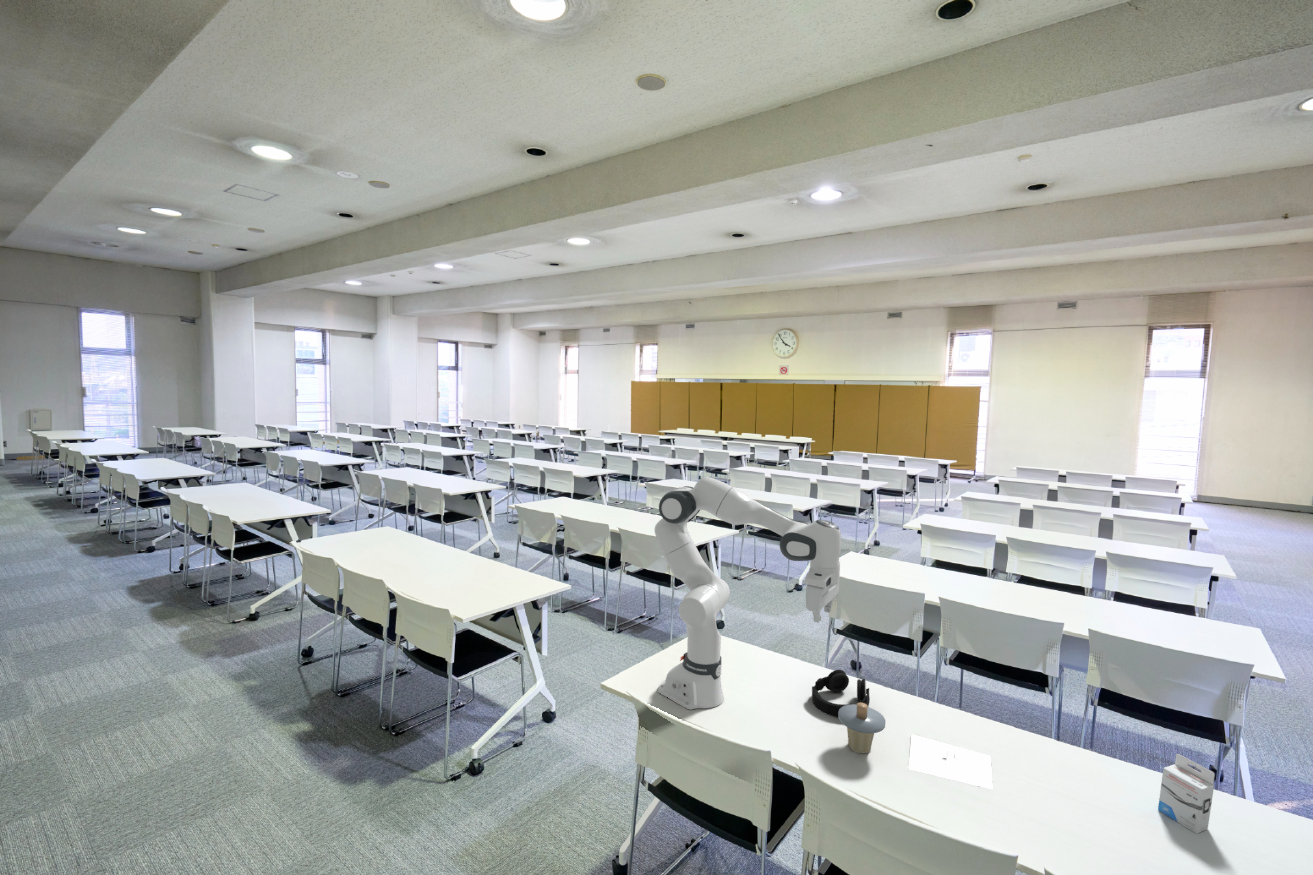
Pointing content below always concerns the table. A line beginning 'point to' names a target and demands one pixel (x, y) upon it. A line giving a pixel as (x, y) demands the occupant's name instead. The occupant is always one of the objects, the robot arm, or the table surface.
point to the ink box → (1187, 794)
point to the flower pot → (859, 741)
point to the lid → (861, 718)
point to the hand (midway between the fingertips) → (822, 616)
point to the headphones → (837, 683)
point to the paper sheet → (950, 762)
